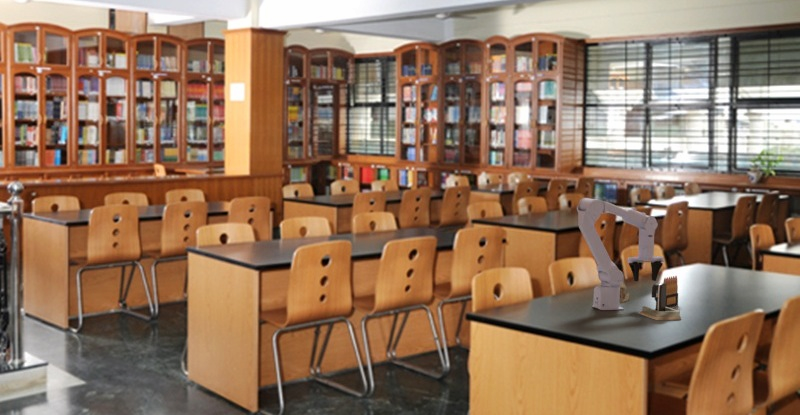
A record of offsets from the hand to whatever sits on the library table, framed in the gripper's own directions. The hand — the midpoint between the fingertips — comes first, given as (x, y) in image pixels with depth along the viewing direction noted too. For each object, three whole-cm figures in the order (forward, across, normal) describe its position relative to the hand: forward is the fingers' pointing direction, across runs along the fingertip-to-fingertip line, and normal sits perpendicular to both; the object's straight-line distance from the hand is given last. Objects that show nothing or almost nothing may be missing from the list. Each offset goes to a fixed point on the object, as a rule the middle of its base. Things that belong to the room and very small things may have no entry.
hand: (645, 280), depth 358 cm
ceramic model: (+11, -4, +17) cm, 21 cm away
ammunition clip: (+11, +11, 0) cm, 15 cm away
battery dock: (+10, -4, -18) cm, 21 cm away
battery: (+10, -4, -18) cm, 20 cm away
